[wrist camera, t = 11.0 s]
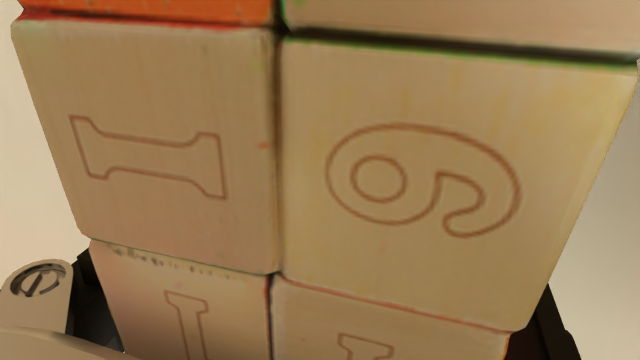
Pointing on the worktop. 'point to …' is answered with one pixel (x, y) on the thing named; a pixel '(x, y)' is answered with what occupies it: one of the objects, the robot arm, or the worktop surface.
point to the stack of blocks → (326, 164)
